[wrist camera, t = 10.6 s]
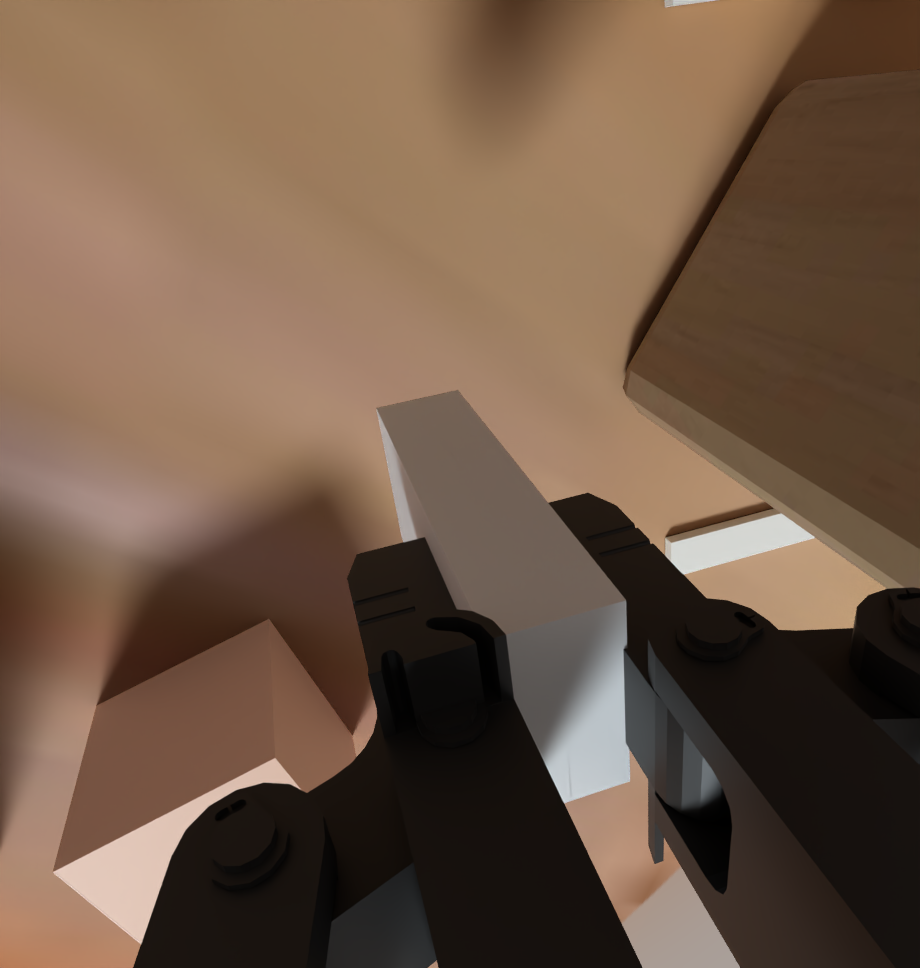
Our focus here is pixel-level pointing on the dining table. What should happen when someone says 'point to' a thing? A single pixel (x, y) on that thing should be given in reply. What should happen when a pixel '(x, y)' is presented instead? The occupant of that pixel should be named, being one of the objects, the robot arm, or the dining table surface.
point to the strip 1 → (683, 2)
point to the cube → (190, 763)
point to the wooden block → (809, 324)
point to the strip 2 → (732, 540)
